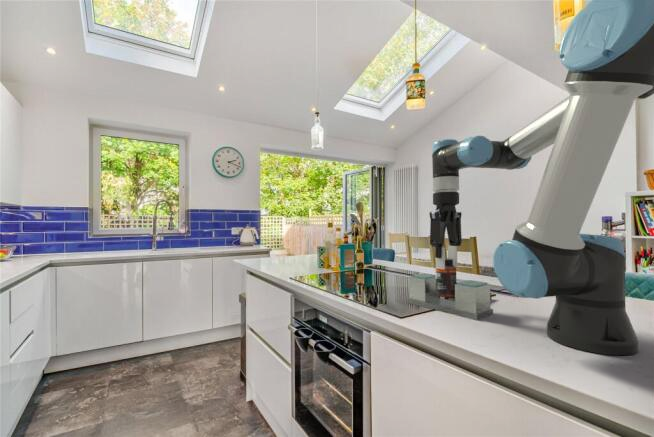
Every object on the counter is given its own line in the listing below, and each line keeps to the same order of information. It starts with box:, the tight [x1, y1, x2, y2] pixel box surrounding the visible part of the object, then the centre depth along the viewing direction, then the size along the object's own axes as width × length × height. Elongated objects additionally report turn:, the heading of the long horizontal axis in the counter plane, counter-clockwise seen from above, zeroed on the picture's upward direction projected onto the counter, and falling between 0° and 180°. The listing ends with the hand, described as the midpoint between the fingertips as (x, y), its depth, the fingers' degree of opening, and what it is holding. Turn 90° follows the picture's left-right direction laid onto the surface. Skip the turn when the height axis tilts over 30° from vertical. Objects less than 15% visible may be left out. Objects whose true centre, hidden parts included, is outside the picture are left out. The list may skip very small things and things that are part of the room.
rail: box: [406, 273, 494, 321], centre depth 95 cm, size 23×9×9 cm, turn 37°
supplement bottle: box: [435, 257, 457, 298], centre depth 96 cm, size 6×6×11 cm
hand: (446, 267), depth 96 cm, fingers closed on supplement bottle, 6 cm apart
